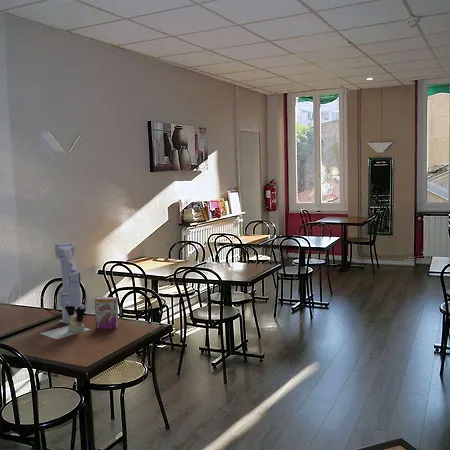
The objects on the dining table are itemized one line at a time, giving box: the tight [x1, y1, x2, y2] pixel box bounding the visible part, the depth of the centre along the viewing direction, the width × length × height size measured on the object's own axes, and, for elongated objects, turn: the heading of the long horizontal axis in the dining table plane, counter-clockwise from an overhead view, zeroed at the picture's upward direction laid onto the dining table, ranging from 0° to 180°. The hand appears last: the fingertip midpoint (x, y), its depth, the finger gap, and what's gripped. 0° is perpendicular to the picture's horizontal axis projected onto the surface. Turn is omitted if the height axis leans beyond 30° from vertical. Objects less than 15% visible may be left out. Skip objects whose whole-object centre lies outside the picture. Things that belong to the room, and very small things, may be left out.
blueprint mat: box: [39, 325, 91, 340], centre depth 274 cm, size 20×16×1 cm
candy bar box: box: [94, 296, 119, 330], centre depth 279 cm, size 11×5×16 cm, turn 84°
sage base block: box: [67, 323, 86, 333], centre depth 275 cm, size 6×6×3 cm
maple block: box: [69, 314, 83, 327], centre depth 275 cm, size 4×4×5 cm
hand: (75, 320), depth 275 cm, fingers open, 7 cm apart
